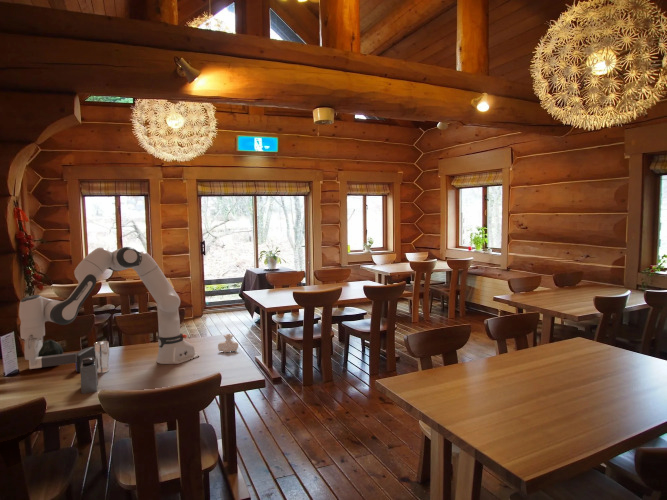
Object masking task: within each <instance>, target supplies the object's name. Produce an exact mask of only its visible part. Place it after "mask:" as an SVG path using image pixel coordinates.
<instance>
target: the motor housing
mask: <svg viewBox="0 0 667 500" xmlns="http://www.w3.org/2000/svg"><path fill="white" fill-rule="evenodd" d="M79 373H80V387H81V388H80V390H81V395H83V394H89V393H97V392H98V385H99V380H98V379H99V378H98V377H99V376H98V374H99V373H97V359H95V358H94V357H88V358H84V359H82V363H81V367H80V372H79Z"/></svg>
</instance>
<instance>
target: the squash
mask: <svg viewBox="0 0 667 500" xmlns="http://www.w3.org/2000/svg"><path fill="white" fill-rule="evenodd" d="M58 354H64V349H63V347H62V345H61V344H59V343H58V342H56V341H55V340H54V339H47V340H43V346H42V348H41V349H40V351H39V355H38V357H43V356H51V355H58Z"/></svg>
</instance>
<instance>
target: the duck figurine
mask: <svg viewBox="0 0 667 500" xmlns="http://www.w3.org/2000/svg"><path fill="white" fill-rule="evenodd" d="M233 337H234V334H231V333H226V334H225V335H223V338H224V339H225V341H224V340H223V341H221V342H219V343H218V344H217V349H218V350H217V351H218V352H220V351H223V352H230V351H236V352H237V351H238V348H239V343H238V342H236V341H234V340H233ZM223 352H222V353H223Z"/></svg>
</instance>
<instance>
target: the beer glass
mask: <svg viewBox="0 0 667 500" xmlns="http://www.w3.org/2000/svg"><path fill="white" fill-rule="evenodd" d="M93 347H94V356H95V359H97V374H105V373H108V372H110V367H109V357H110V344H109V341H108V340H102V341H97V342H94V343H93Z"/></svg>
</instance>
